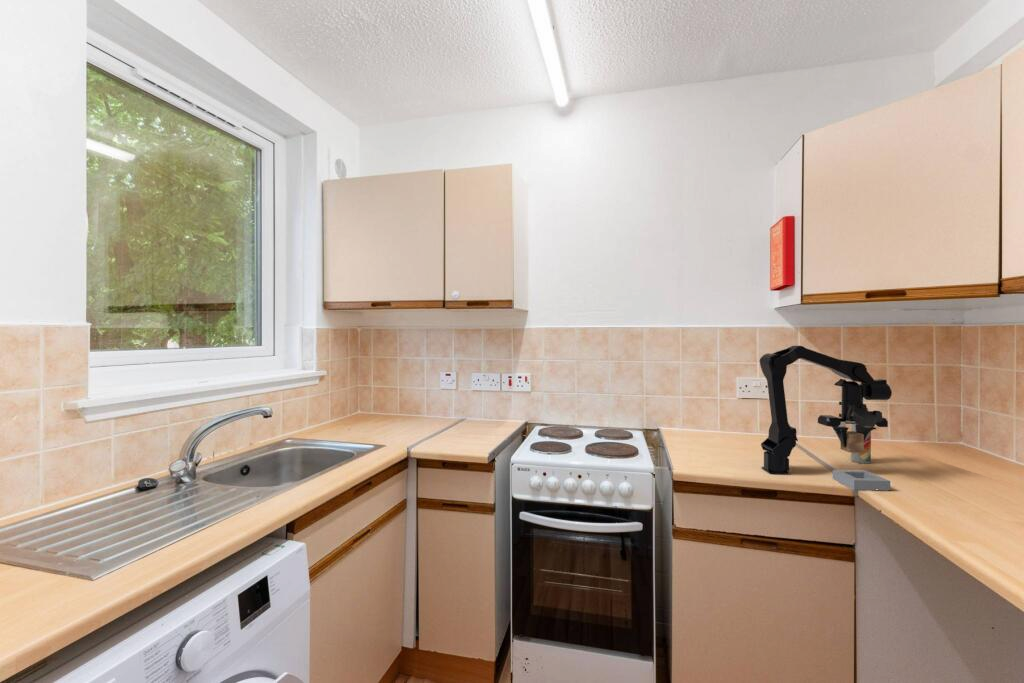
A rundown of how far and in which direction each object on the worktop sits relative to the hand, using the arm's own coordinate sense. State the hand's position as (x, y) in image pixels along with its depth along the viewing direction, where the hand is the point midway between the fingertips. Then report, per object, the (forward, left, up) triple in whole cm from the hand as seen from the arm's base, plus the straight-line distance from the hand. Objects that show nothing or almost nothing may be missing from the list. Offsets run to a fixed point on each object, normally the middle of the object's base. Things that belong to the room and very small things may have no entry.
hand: (851, 446), depth 148 cm
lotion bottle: (+12, +14, -9) cm, 20 cm away
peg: (0, 0, -1) cm, 1 cm away
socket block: (-5, -12, -9) cm, 16 cm away
